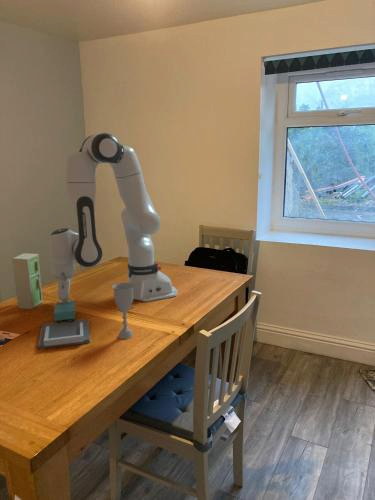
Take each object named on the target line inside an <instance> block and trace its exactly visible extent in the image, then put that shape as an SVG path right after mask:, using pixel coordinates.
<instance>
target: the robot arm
mask: <svg viewBox="0 0 375 500" xmlns="http://www.w3.org/2000/svg"><path fill="white" fill-rule="evenodd" d="M105 163H106V164H109V166H111V168H112V170H113V174H114V179H115V183H116V186H117V189H118V193H119V197H120V198H121V200H122V202H123V203H124V205H125V208H124V209H122V212H121V213H120V216H121V217H120V219H121V221H122V224H123V229H124V235H125V238H126V239H125V240H126V243H127V255H128V256H127V258H128V264H127V277H128V282H127V283H133V284H134V287H133V300H138V301H141V302H152V301H156V300H164V299H169V298H174V297H176V296H178V290H177V288H176V287H175V286H173V284H172V280H171V278H169V276H167V275H166V274H165V273H163V272H161V270H162V266H161V265H159V263H157V262H155V246H154V242H153V241H152V240H153V239H152V237H151V236H152V235H154V234H156V233H157V232H158V231H159V229H160V227H161V223H162V220H161V217H160V216H159V214H158V213H157V211H156V210H155V209H156V208H155V206H154V204H153V202H152V200H151V198H150V195H149V193H148V190H147V188H146V182H145V180H144V174H143V172H142V167H141V164H140V160H139V158H138V156H137V154H136V151H135V149H133V147H130V146H128V145H122V143H120V142H119V140H118V139H117V137H115V136H114V135H112V134H111V133H107V132H103V133H102V132H99V133H94V134H91V135H90V136H88V137H86V139H85V140H83V143H82V145H81V146H80V149H79V151H76V152H72V153H70V154H69V155H68V156H67V158H66V166H65V186H66V192H67V196H68V197H67V198H68V200H69V202H70V204H71V205H72V208H73V210H74V212H75V214H76V219H77V221H76V222H77V228H78V229H77V231H78V232H75V231H73V230H72V229H70V228H69V227H68V228H60V229H59V228H58V229H55V230H53V231H52V232H51V233H50V235H49V243H48V244H49V253H50V256H51V257H50V258H51V259H50V268H51V270H50V271H51V276H52V277H54V278H55V280H57V289H58V290H57V292H58V300H59V301H61V302H62V301H69V299H70V290H71V279H72V278H73V276H74V275H75V274H76V267H75V266H76V265H75V262H77V264H78V265H80V266H81V267H84V268H91V267H94V266H96V265H97V264H99V263H100V262H101V260H102V258H103V250H102V248H101V245H100V243H99V242H98V238H97V231H96V230H97V229H96V218H95V209H96V208H95V207H96V205H95V204H96V193H97V183H96V181H97V180H96V170H97V167H98V165H99V164H105Z"/></svg>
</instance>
